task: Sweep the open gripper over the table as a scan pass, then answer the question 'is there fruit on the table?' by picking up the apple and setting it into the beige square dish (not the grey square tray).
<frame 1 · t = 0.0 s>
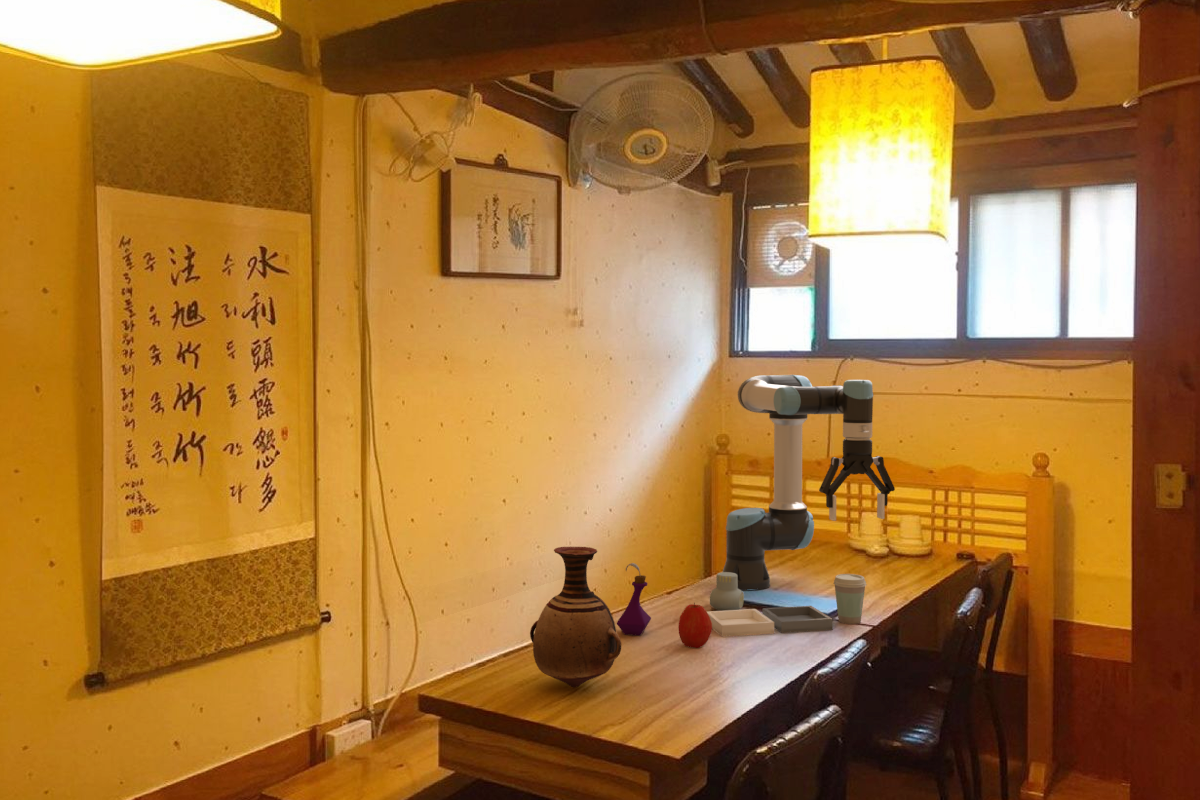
hand: (856, 519, 270), 28 cm above the table, fingers open, 13 cm apart
coffee cup: (849, 622, 275), on the table
perfume bottle: (634, 633, 264), on the table
beige square dish: (739, 627, 269), on the table
vase: (575, 687, 223), on the table
grey square tray: (796, 624, 272), on the table
air freshener: (726, 610, 288), on the table
apple: (694, 646, 253), on the table
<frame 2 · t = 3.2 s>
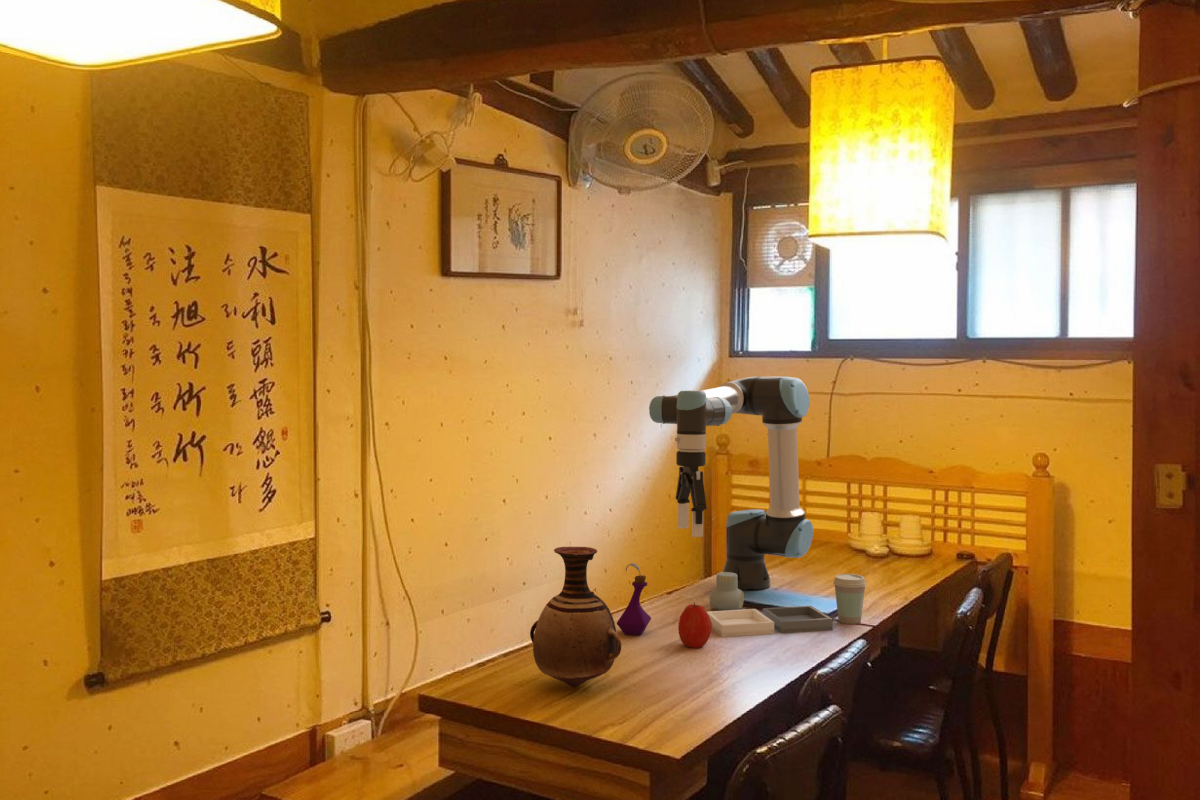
hand: (690, 532, 266), 26 cm above the table, fingers open, 13 cm apart
nothing on the table moved.
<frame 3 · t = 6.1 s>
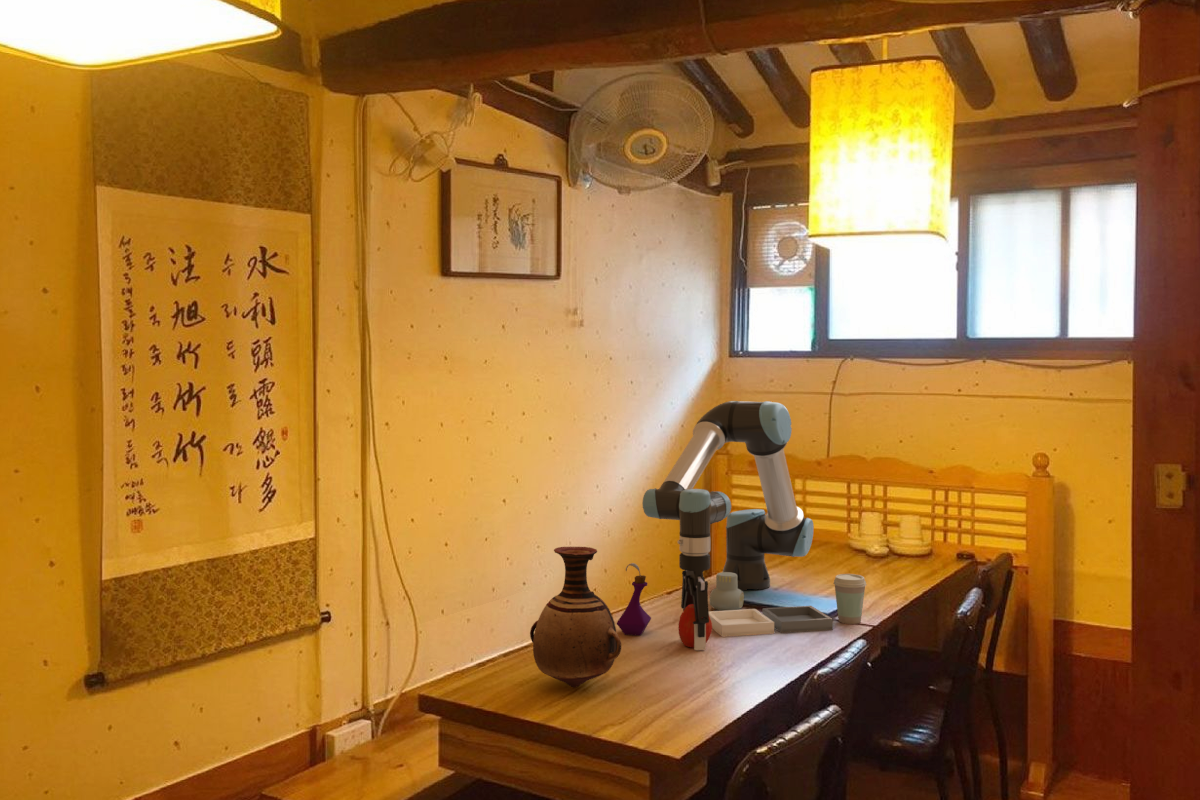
hand: (694, 644, 253), 0 cm above the table, fingers closed on apple, 8 cm apart
apple: (694, 646, 253), on the table, touching gripper
everything else where it was.
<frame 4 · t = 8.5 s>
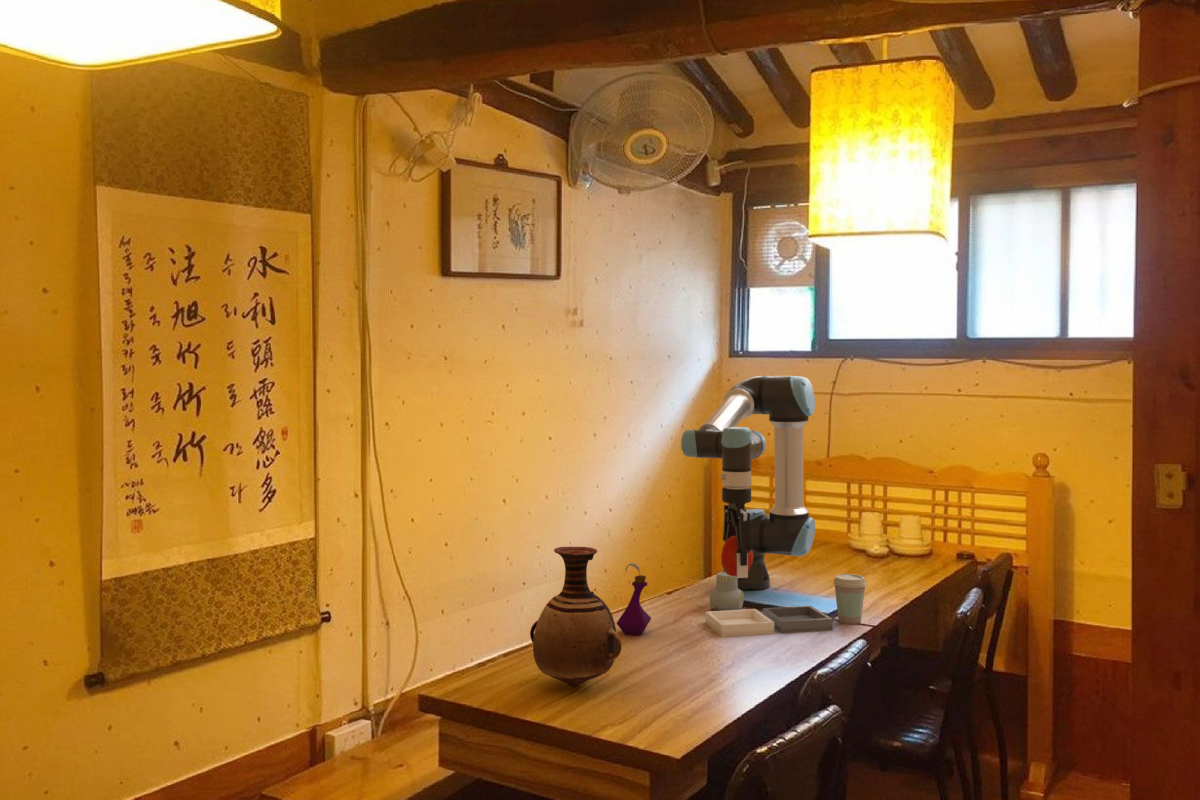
hand: (736, 573, 267), 15 cm above the table, fingers closed on apple, 8 cm apart
apple: (736, 575, 267), point 14 cm above the table, touching gripper
everything else where it was.
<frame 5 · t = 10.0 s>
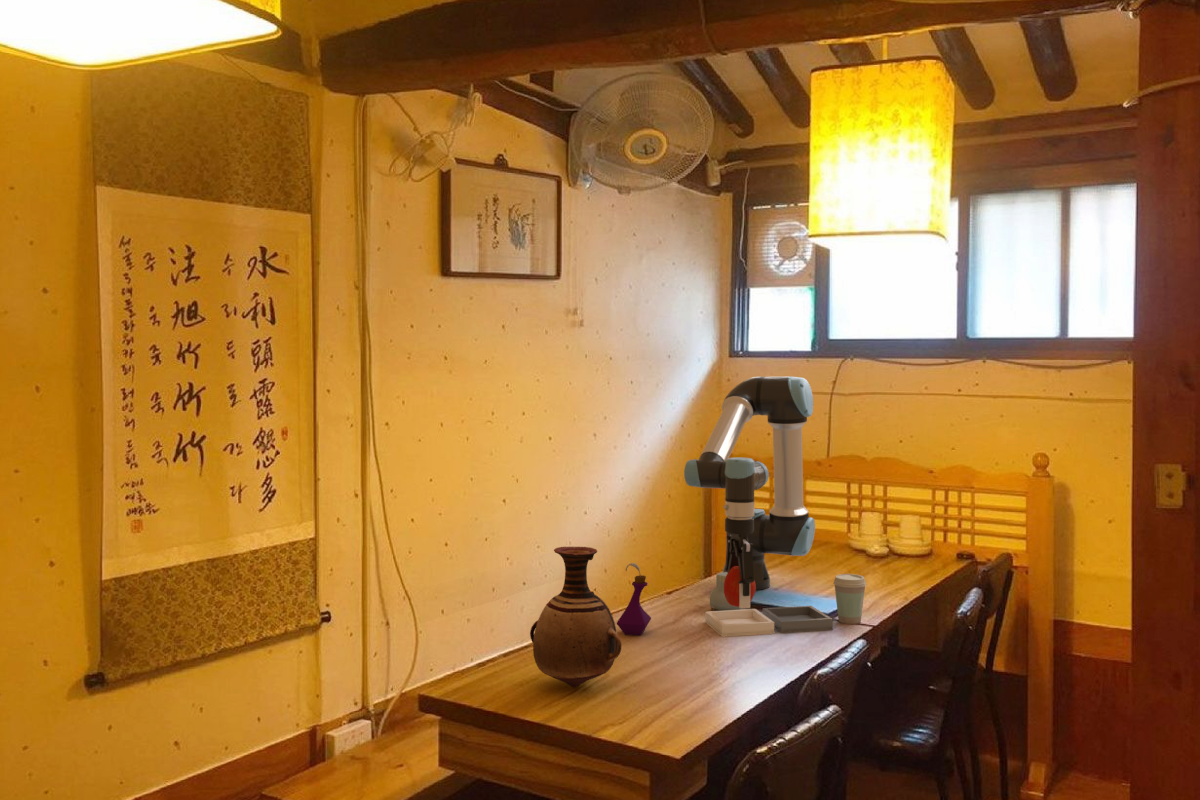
hand: (739, 603, 268), 6 cm above the table, fingers closed on apple, 8 cm apart
apple: (739, 605, 268), point 6 cm above the table, touching gripper
everything else where it was.
when the fingers open (3 cm above the table, at t = 11.0 s): apple drops 2 cm, resting on beige square dish.
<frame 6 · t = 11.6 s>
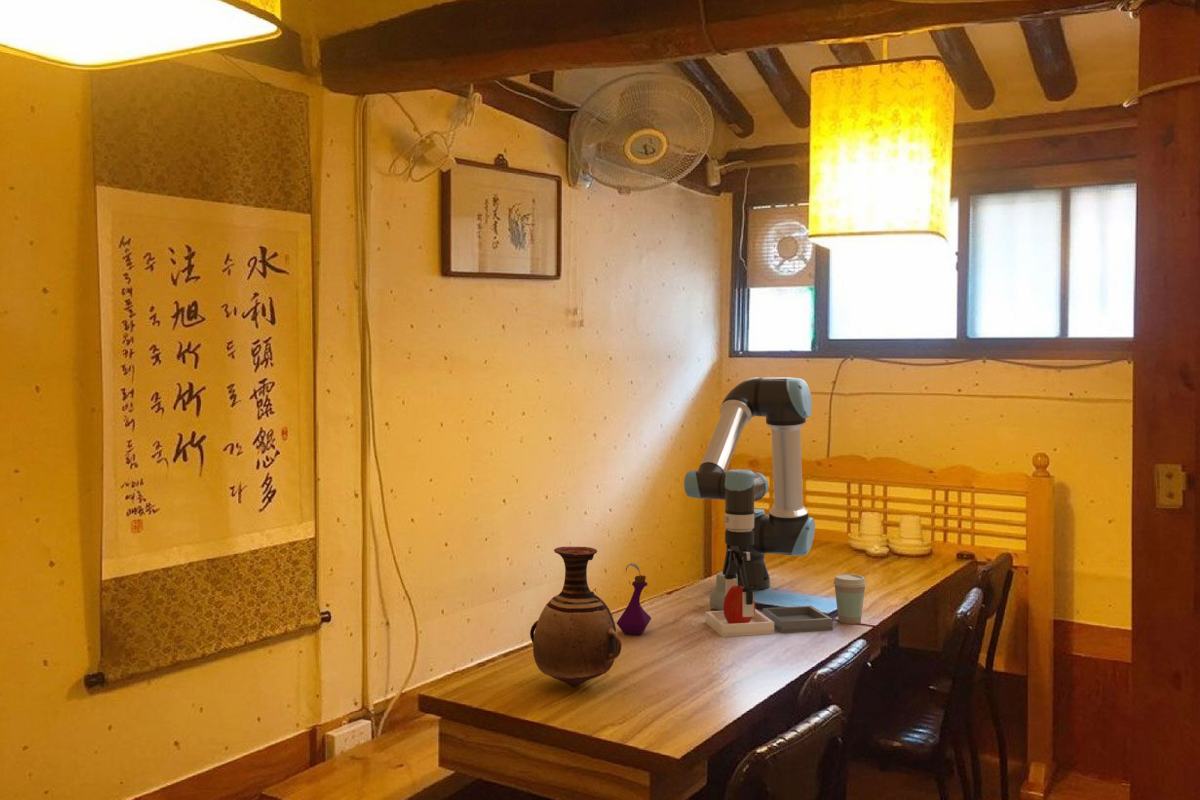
hand: (739, 610, 268), 5 cm above the table, fingers open, 13 cm apart
apple: (738, 625, 269), point 1 cm above the table, touching beige square dish
everything else where it was.
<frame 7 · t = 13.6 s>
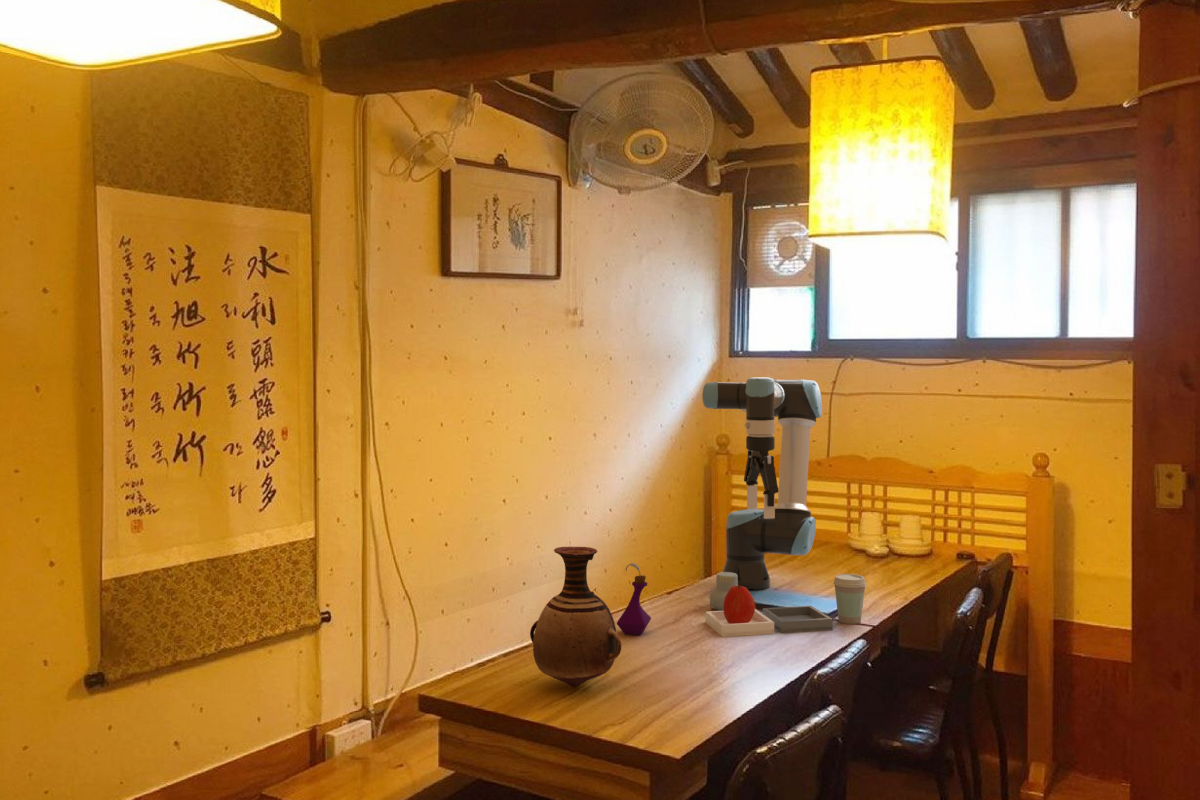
hand: (760, 513, 277), 29 cm above the table, fingers open, 13 cm apart
nothing on the table moved.
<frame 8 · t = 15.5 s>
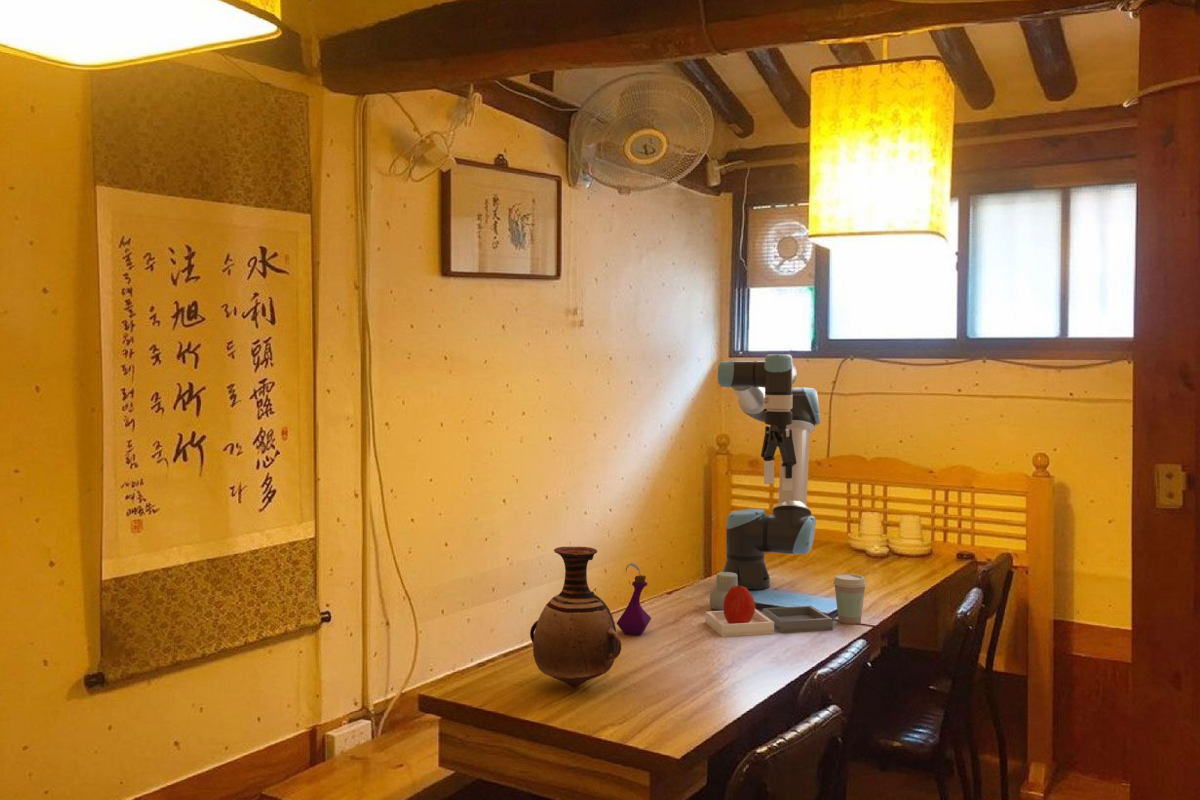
hand: (777, 487, 284), 35 cm above the table, fingers open, 13 cm apart
nothing on the table moved.
at the end: apple inside the target area on the beige square dish (0.4 cm from its centre), point 0.6 cm above the beige square dish's base; apple touching beige square dish; the gripper is holding nothing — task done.
